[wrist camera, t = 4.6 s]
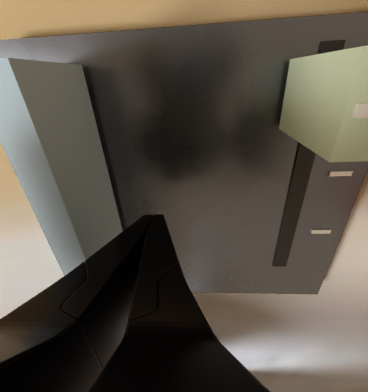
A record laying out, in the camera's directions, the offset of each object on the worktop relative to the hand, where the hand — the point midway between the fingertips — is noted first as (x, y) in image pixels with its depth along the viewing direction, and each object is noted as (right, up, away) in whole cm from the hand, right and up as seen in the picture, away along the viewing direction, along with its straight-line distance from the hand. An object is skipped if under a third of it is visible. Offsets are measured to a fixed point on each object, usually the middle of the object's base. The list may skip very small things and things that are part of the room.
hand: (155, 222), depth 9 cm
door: (-3, 0, +3) cm, 4 cm away
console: (+2, +1, +3) cm, 4 cm away
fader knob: (+7, +5, -1) cm, 8 cm away
